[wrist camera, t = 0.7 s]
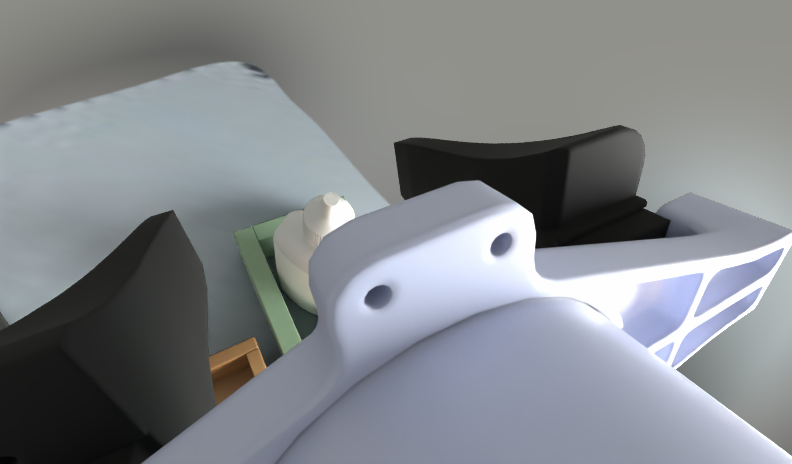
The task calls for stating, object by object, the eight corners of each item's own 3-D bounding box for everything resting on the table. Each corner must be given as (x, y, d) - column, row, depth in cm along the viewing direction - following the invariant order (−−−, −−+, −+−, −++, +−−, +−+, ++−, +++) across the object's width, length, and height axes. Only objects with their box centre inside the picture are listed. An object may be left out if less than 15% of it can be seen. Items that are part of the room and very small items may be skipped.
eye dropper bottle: (311, 341, 25) (319, 274, 15) (271, 273, 27) (253, 169, 16) (366, 308, 27) (407, 228, 17) (326, 246, 29) (340, 138, 18)
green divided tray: (463, 451, 24) (485, 452, 21) (353, 531, 21) (361, 545, 18) (339, 217, 30) (343, 195, 27) (239, 253, 27) (232, 232, 24)
